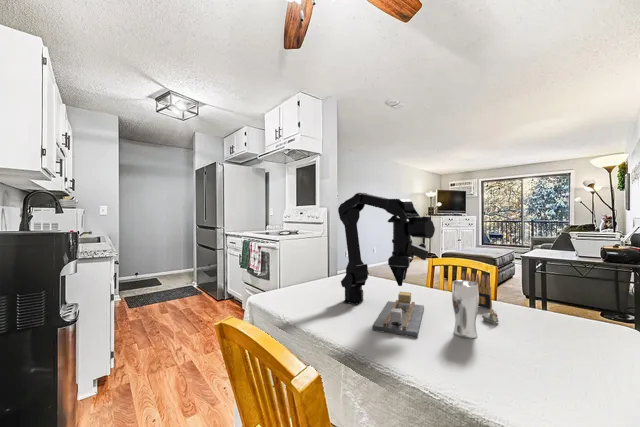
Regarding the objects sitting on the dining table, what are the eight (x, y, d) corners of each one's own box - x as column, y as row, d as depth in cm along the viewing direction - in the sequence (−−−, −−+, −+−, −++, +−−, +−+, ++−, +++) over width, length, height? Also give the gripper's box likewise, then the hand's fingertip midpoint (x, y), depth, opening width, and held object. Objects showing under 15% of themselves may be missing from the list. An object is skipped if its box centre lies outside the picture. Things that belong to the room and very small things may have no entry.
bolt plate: (372, 330, 86) (372, 322, 86) (388, 305, 108) (388, 298, 108) (417, 337, 80) (417, 329, 80) (424, 309, 103) (424, 302, 103)
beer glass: (476, 330, 85) (476, 280, 84) (481, 341, 78) (481, 286, 78) (450, 327, 87) (450, 279, 87) (453, 337, 80) (453, 284, 80)
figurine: (478, 318, 94) (480, 301, 93) (491, 318, 94) (493, 301, 93) (488, 327, 88) (491, 309, 88) (502, 327, 89) (505, 309, 88)
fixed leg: (390, 325, 86) (390, 311, 86) (392, 322, 89) (392, 308, 88) (400, 327, 85) (400, 312, 85) (402, 323, 87) (402, 309, 87)
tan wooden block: (398, 303, 103) (398, 294, 103) (400, 300, 106) (400, 291, 106) (409, 304, 101) (409, 295, 101) (411, 301, 105) (411, 292, 105)
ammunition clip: (492, 307, 105) (491, 275, 104) (490, 308, 103) (490, 276, 103) (461, 301, 112) (461, 271, 112) (459, 302, 111) (459, 271, 111)
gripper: (426, 239, 83) (426, 292, 83) (428, 234, 100) (428, 278, 101) (387, 238, 87) (387, 288, 88) (396, 233, 105) (396, 275, 105)
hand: (401, 282), depth 95 cm, fingers open, 9 cm apart
